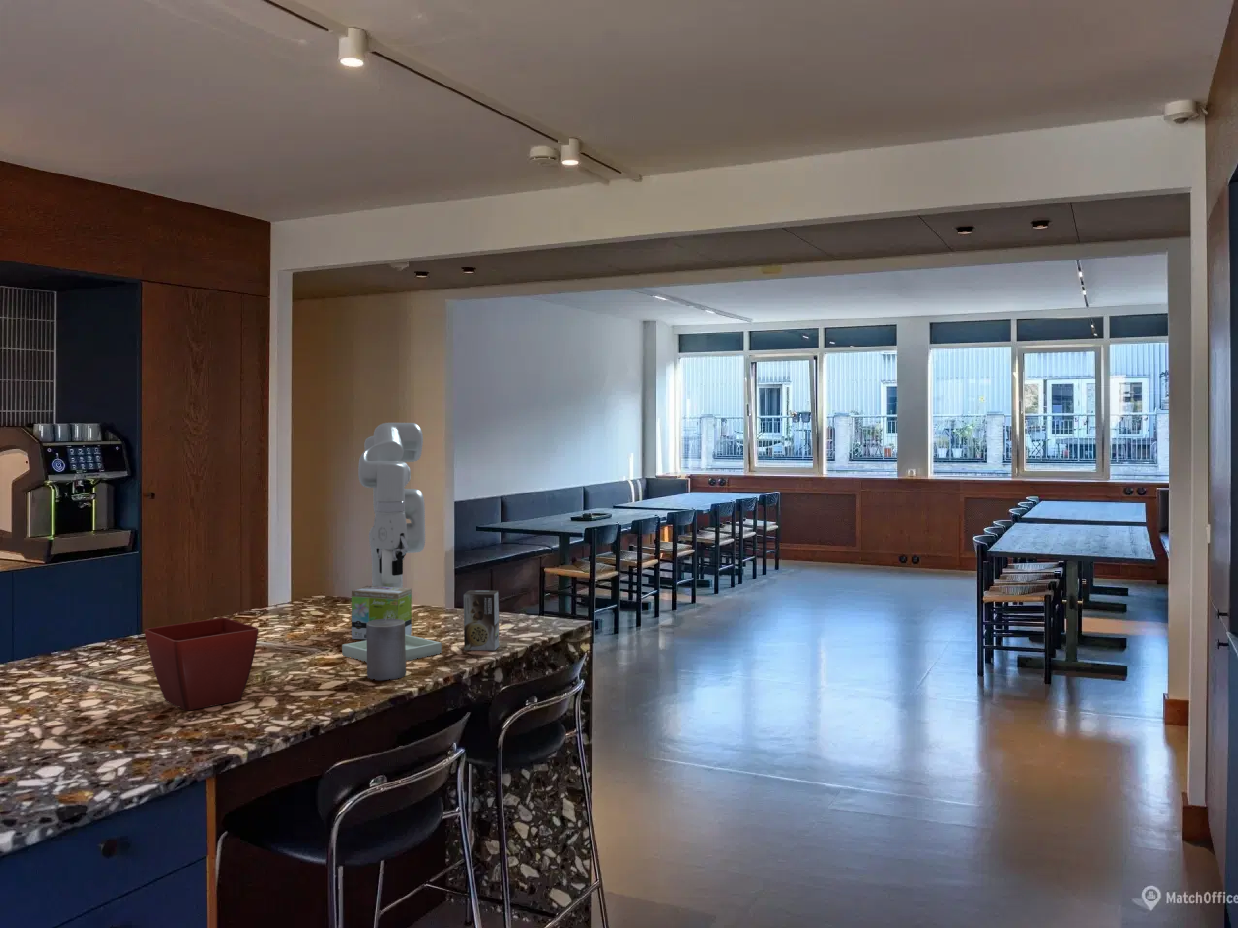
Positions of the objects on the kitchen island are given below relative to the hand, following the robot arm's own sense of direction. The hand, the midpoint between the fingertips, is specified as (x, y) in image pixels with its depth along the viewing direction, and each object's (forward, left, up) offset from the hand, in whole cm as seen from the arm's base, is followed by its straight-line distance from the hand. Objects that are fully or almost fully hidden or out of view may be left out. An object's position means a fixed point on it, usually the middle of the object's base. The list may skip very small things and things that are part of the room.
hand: (391, 573), depth 278 cm
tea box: (-20, +11, -23) cm, 32 cm away
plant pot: (+6, -57, -23) cm, 62 cm away
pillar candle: (+18, -15, -23) cm, 33 cm away
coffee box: (+12, +22, -23) cm, 34 cm away
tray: (0, 0, -23) cm, 23 cm away
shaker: (0, 0, -2) cm, 2 cm away
